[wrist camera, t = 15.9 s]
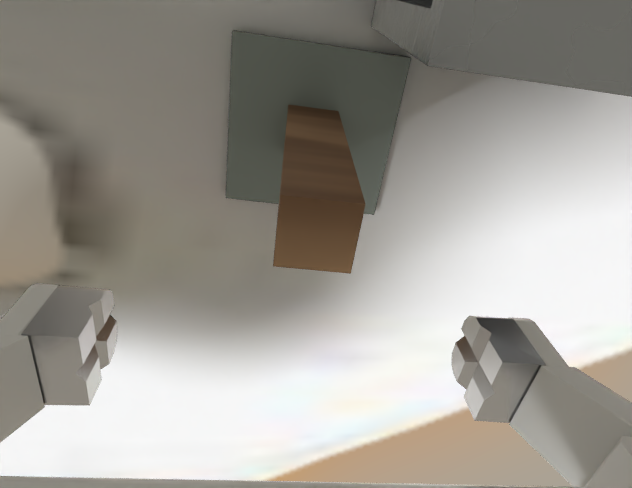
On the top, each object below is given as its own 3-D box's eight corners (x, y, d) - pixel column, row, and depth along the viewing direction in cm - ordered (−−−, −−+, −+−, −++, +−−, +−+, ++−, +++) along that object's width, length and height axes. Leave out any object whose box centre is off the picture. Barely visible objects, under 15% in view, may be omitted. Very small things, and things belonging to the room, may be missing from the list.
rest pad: (372, 211, 24) (373, 214, 24) (226, 194, 23) (225, 197, 23) (409, 57, 20) (411, 58, 20) (233, 30, 19) (232, 31, 19)
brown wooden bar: (330, 158, 22) (350, 273, 14) (283, 152, 22) (272, 266, 13) (338, 111, 21) (365, 204, 12) (288, 104, 21) (280, 195, 12)
